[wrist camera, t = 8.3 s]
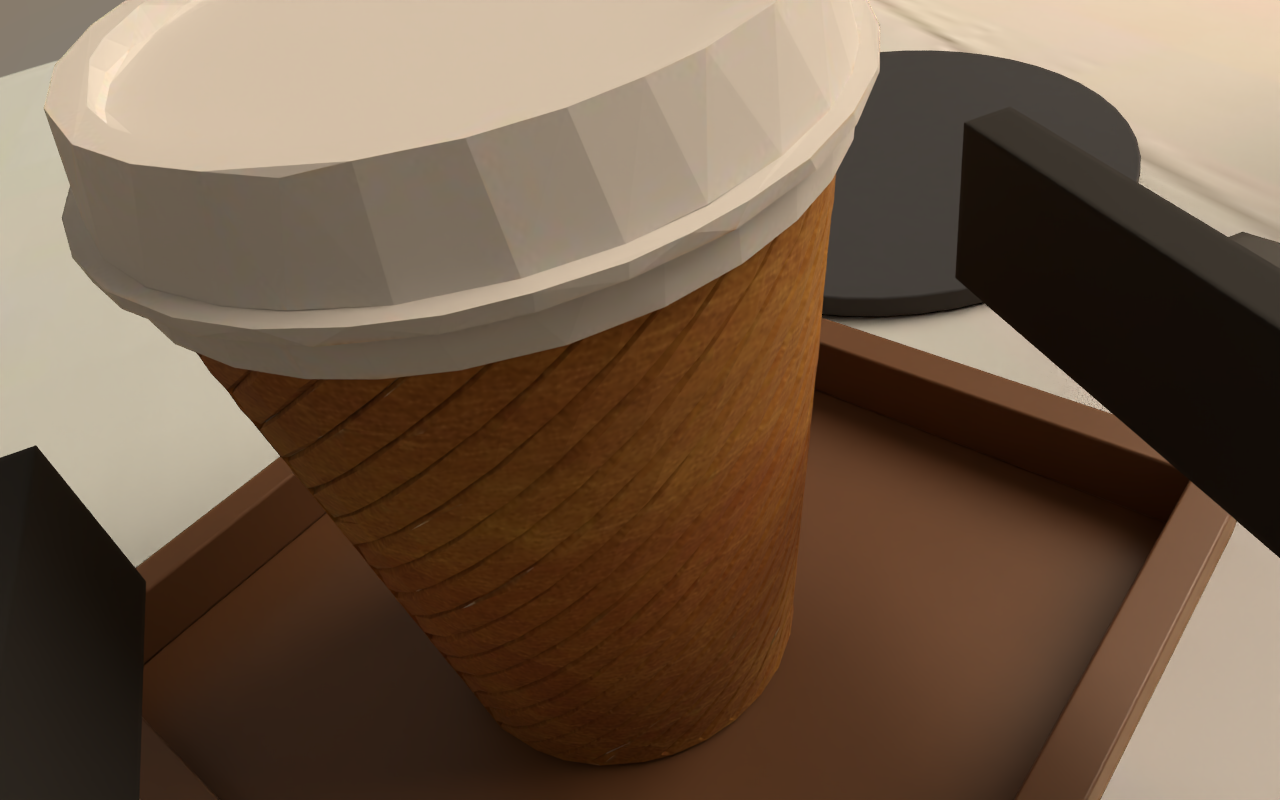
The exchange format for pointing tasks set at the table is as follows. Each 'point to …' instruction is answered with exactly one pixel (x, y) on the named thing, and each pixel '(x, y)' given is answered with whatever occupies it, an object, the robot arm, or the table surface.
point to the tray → (816, 649)
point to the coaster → (938, 172)
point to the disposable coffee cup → (503, 308)
